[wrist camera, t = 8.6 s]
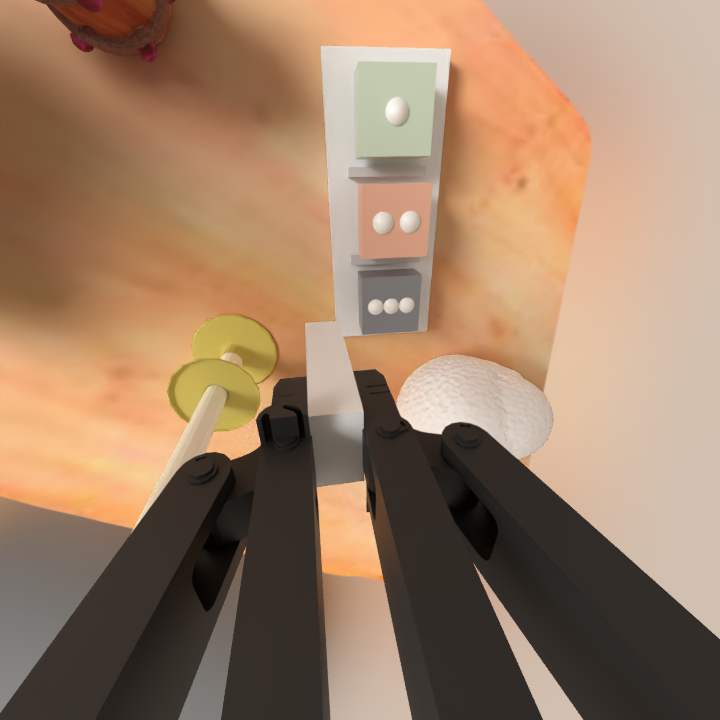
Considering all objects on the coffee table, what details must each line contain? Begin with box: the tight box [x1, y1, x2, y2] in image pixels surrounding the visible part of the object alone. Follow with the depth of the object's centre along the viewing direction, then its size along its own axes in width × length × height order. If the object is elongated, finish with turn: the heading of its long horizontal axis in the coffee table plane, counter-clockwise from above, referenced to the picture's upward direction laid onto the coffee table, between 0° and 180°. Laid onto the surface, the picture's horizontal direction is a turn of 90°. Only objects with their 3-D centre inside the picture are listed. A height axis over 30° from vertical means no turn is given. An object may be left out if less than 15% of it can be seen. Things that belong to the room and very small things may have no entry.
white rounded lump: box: [396, 354, 553, 459], centre depth 40 cm, size 20×18×16 cm
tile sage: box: [354, 61, 437, 159], centre depth 27 cm, size 6×6×3 cm
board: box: [320, 46, 451, 337], centre depth 34 cm, size 11×26×3 cm, turn 1°
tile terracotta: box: [358, 183, 433, 259], centre depth 30 cm, size 6×6×3 cm
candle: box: [132, 315, 277, 532], centre depth 29 cm, size 10×10×27 cm
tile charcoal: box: [358, 268, 422, 335], centre depth 35 cm, size 6×6×3 cm
